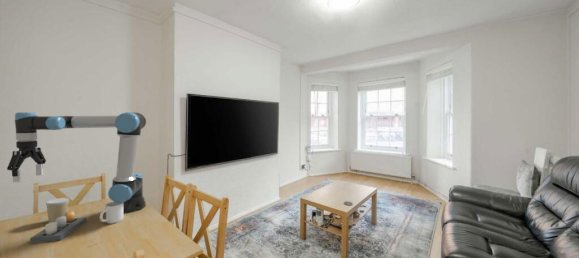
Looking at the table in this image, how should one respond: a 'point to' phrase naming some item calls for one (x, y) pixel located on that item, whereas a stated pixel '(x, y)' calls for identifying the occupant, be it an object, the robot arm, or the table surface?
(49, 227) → the white rounded block
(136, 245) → the table surface
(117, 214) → the mug
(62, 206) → the coffee cup
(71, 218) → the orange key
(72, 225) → the panel
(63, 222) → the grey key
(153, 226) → the table surface
